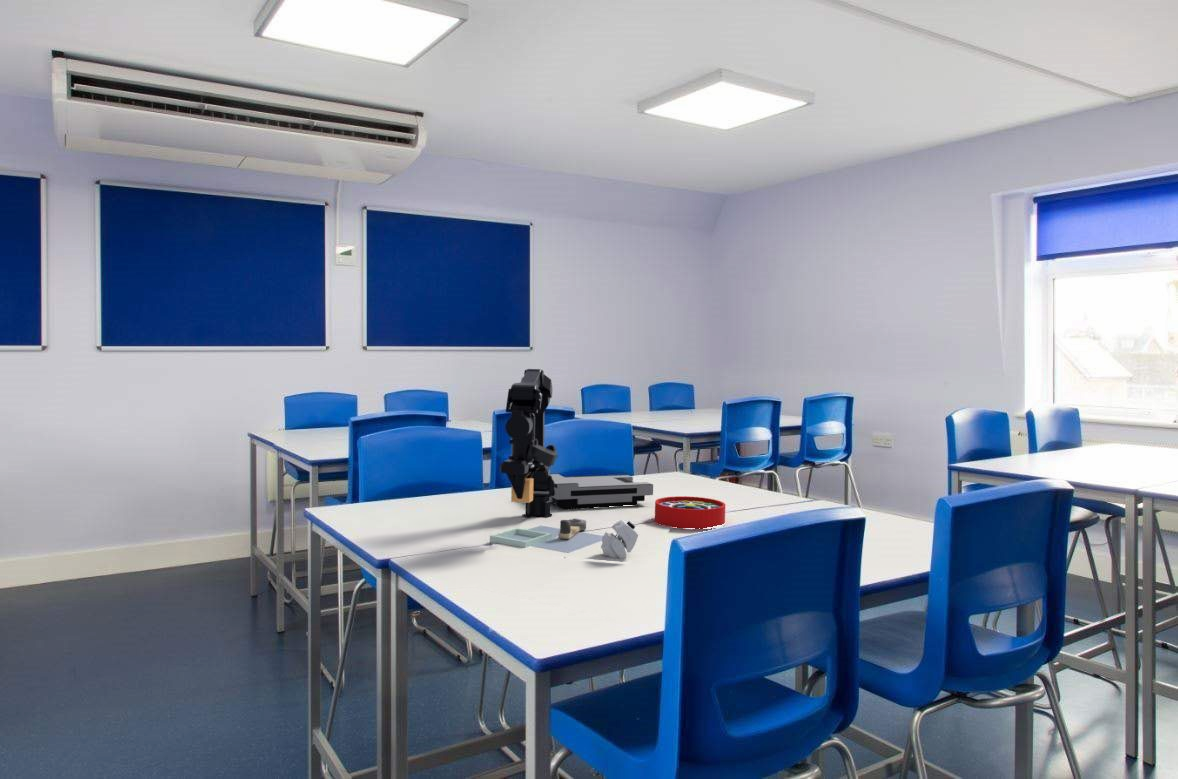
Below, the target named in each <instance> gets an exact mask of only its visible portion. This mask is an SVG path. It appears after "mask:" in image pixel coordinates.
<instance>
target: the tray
mask: <svg viewBox="0 0 1178 779" xmlns="http://www.w3.org/2000/svg"><path fill="white" fill-rule="evenodd" d="M515 534H521V535H527V536H532V537H536V538H533V539H530V540H527V541H522V540H517V539H511V538H506V537H508V536H512V535H515ZM550 539H552V534H550V533H544V532H538V531H532V530H528V529H526V528H520V527H514V528H512V529H507V530H504V531H502V532H498V533H495V534H491V535H489V544H492V545H494V544H495V543H498V544H499V543H500V544H504V545H510V546H515V547H520V548H529V547H533V546H532V545H535V544H538V543H541V542H544V541H547V540H550Z"/></svg>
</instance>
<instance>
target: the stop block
mask: <svg viewBox="0 0 1178 779" xmlns="http://www.w3.org/2000/svg"><path fill="white" fill-rule="evenodd" d="M533 481H534V478H526V479H525V485H524V491H523V497H522V499H518V498H517V496H516V494H515V491H514V489H513V487H512V486H511V488H510V489H511V492H510V493H511V494H510V495H511V497H510V500H511V502H513V503H525V504H526V503H530V502H531V501H533Z"/></svg>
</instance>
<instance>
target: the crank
mask: <svg viewBox="0 0 1178 779" xmlns="http://www.w3.org/2000/svg"><path fill="white" fill-rule="evenodd" d="M559 529H560V533H558V538H562V539H570V538H571V537H572V536H574V535H575V534H576V533H577V532H581V531H585V530H586V529H587V520H586V519H582V518H576V517H575V518H571V519H561V520H560V522H559Z"/></svg>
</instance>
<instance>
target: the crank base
mask: <svg viewBox="0 0 1178 779" xmlns="http://www.w3.org/2000/svg"><path fill="white" fill-rule="evenodd" d="M527 530H532V531H538V532H544V533H550V534H552V539H550V540H547V541H544V542H541V543H538V544H535V545H532V546H531V547H534V548H539V549H544V550H550V551H555V552H556V551H557V552H561V553H567V554H570V553H572V552H575V551H577V550H581V549H583V548H586V547H588V546H591V545H594V544H596V543H600V542H602V537H603V535H601V534H595V533H594V534H593V533H589V532H588V533H587V532H582V531H578V532H577V533H576V534H575V535H574V536H572V537H571V538H570V539H562V538H558V533H560V527H559V528H558V527H552V526H547V525H539V526H534V527H532V528H528V529H527ZM506 538H511V539H517V540H522V541H527V540H530V539H533V538H536V537H532V536H527V535H521V534H515V535H512V536H508V537H506Z"/></svg>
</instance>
